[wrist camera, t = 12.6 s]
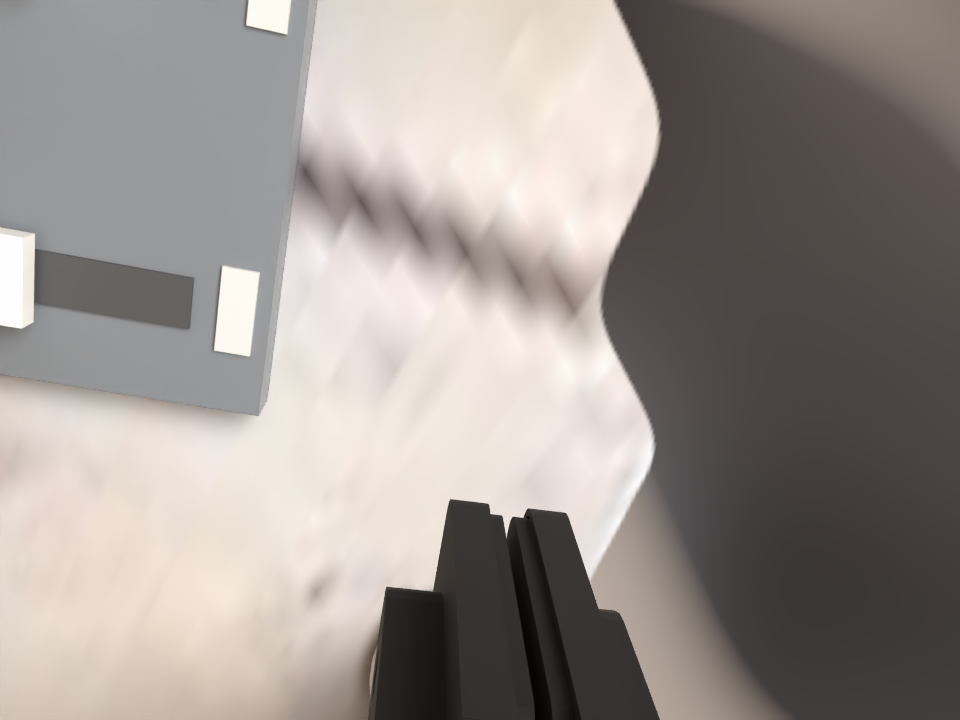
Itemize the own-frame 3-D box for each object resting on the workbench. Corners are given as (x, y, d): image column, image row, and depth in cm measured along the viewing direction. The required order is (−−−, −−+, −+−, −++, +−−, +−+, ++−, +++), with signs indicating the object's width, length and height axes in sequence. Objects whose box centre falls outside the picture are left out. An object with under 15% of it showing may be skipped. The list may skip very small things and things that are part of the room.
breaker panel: (267, 399, 38) (257, 417, 35) (-118, 337, 35) (-152, 351, 33) (335, -143, 30) (328, -160, 28) (-149, -267, 28) (-195, -296, 26)
